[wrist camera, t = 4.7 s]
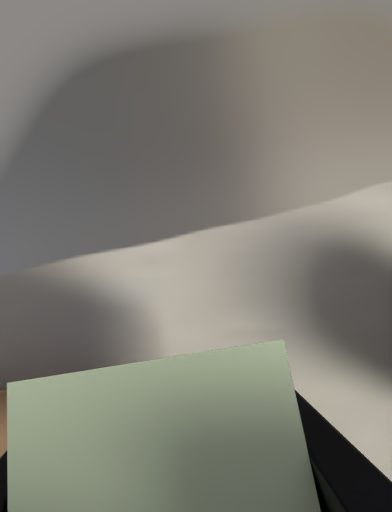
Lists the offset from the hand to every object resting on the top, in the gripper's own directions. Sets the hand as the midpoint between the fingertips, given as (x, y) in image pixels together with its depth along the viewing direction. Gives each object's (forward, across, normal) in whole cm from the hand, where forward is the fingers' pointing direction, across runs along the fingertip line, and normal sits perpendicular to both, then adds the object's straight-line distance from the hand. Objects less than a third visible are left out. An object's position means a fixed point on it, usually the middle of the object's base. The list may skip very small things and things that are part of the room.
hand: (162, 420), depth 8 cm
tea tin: (+5, 0, +7) cm, 8 cm away
